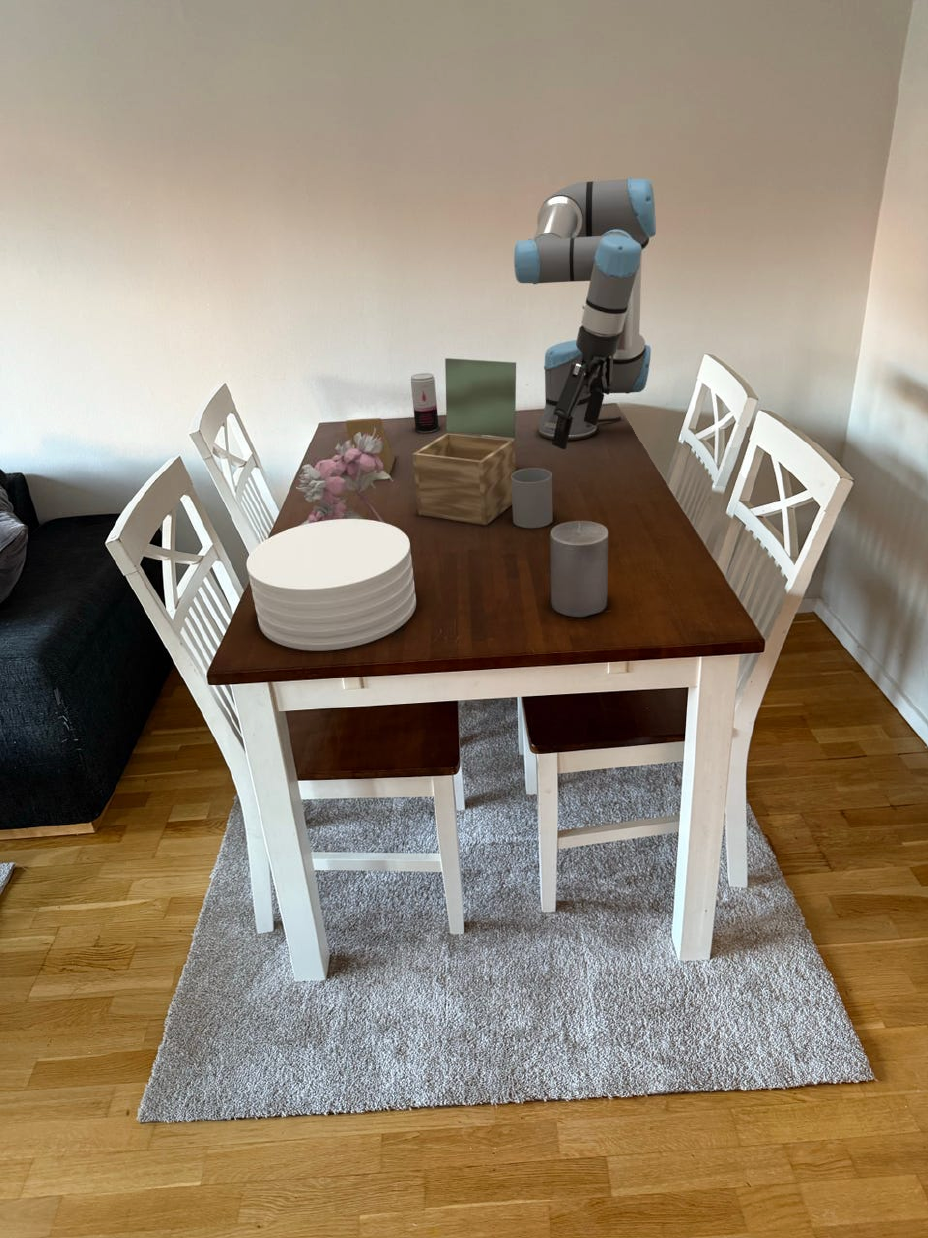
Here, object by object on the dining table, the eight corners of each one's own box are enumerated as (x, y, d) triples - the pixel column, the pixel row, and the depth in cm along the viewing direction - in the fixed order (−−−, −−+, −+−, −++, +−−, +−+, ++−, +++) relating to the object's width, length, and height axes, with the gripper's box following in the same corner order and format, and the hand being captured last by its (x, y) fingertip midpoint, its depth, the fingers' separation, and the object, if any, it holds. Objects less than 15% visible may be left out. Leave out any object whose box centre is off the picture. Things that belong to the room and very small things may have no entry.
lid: (514, 362, 180) (516, 362, 181) (445, 358, 188) (446, 357, 188) (513, 438, 186) (515, 437, 187) (446, 431, 194) (448, 430, 195)
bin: (486, 525, 183) (482, 462, 176) (418, 514, 191) (412, 453, 184) (517, 500, 194) (514, 439, 187) (452, 491, 201) (447, 432, 195)
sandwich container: (396, 457, 225) (389, 399, 218) (388, 478, 212) (381, 418, 204) (363, 458, 226) (356, 401, 218) (353, 479, 212) (345, 419, 205)
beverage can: (441, 426, 246) (436, 372, 239) (435, 433, 240) (430, 378, 233) (419, 425, 247) (414, 372, 240) (412, 433, 242) (407, 379, 235)
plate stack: (417, 642, 143) (411, 580, 137) (248, 658, 142) (234, 596, 137) (414, 567, 167) (408, 512, 162) (269, 581, 167) (258, 526, 161)
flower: (370, 501, 195) (309, 413, 179) (437, 514, 180) (376, 420, 164) (313, 565, 188) (244, 480, 172) (377, 585, 173) (308, 494, 157)
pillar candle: (560, 588, 156) (559, 510, 149) (613, 595, 153) (615, 516, 145) (543, 613, 148) (541, 533, 141) (599, 621, 145) (600, 539, 137)
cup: (557, 513, 186) (556, 469, 181) (547, 529, 179) (546, 483, 174) (519, 511, 188) (517, 467, 183) (508, 526, 182) (506, 481, 177)
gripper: (611, 306, 166) (586, 407, 180) (550, 340, 149) (527, 449, 163) (646, 318, 164) (618, 420, 177) (588, 355, 147) (562, 464, 160)
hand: (574, 434), depth 170 cm, fingers open, 13 cm apart
